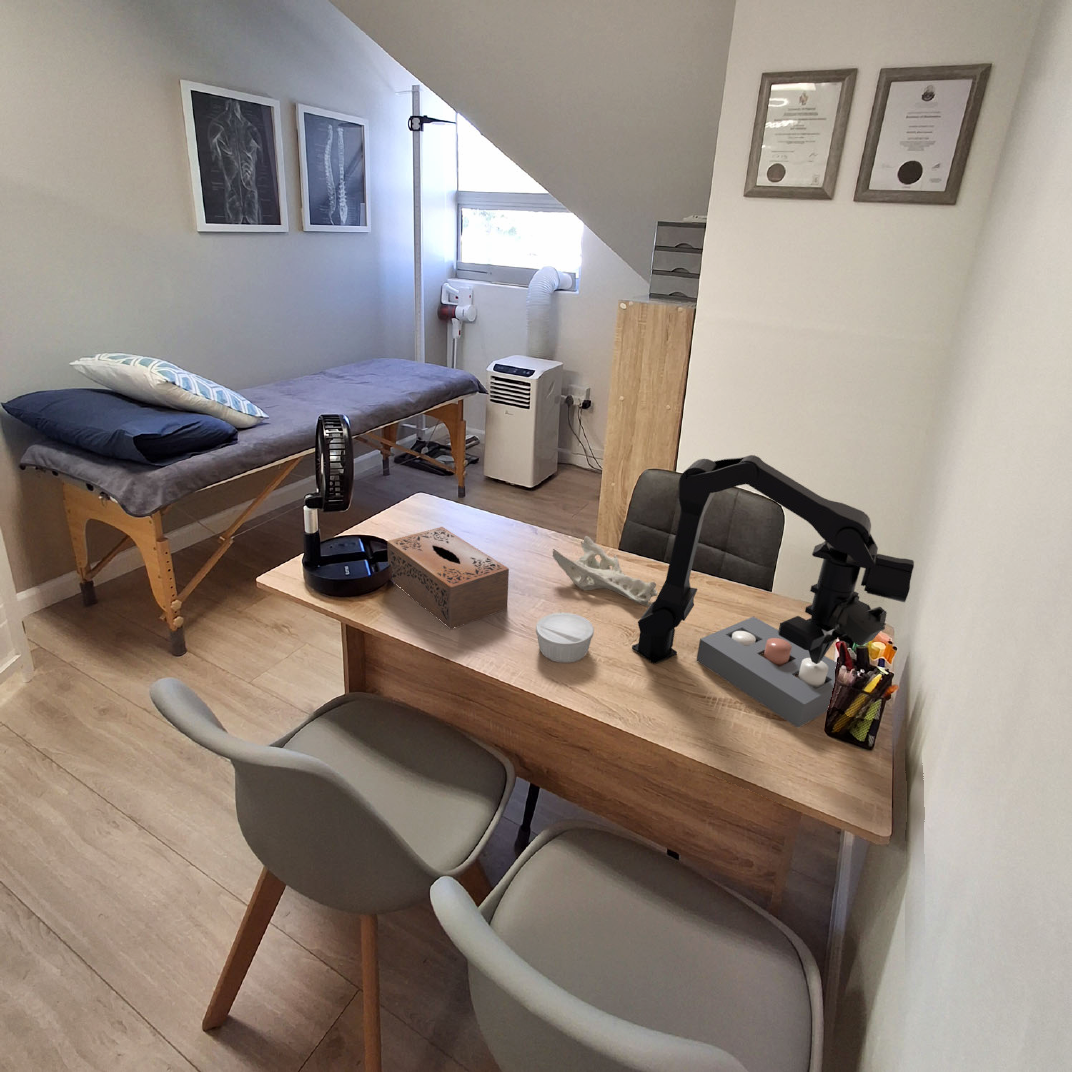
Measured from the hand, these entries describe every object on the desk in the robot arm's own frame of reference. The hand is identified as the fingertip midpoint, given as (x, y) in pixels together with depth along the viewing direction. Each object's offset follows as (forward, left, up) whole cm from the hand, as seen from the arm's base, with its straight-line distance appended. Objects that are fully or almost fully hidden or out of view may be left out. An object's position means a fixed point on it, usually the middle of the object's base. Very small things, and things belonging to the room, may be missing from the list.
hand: (815, 662), depth 119 cm
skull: (-4, +50, -8) cm, 51 cm away
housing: (0, +7, -8) cm, 11 cm away
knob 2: (0, 0, -5) cm, 5 cm away
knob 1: (0, +15, -8) cm, 17 cm away
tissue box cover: (-37, +66, -9) cm, 77 cm away
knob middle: (0, +7, -5) cm, 9 cm away
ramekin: (-28, +35, -8) cm, 46 cm away
